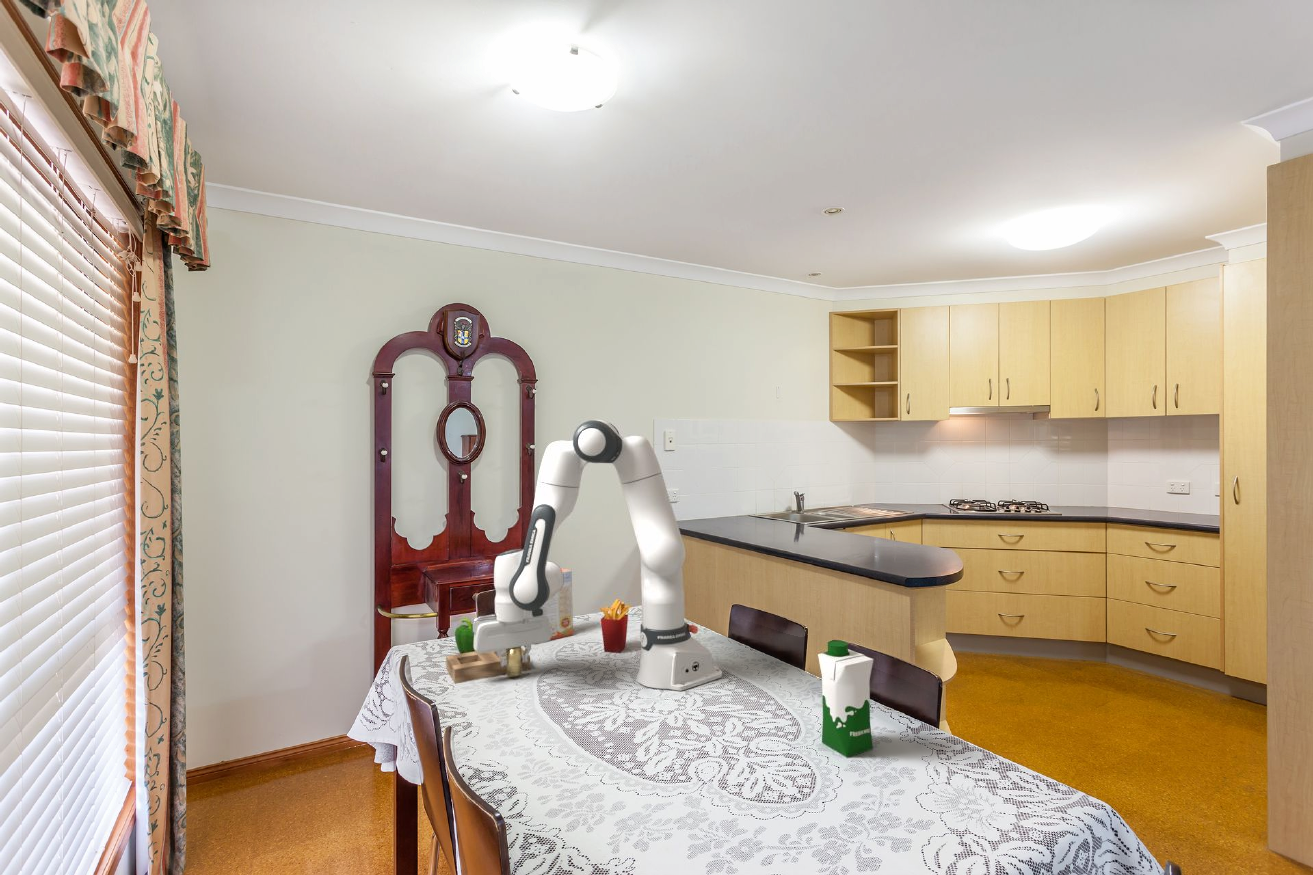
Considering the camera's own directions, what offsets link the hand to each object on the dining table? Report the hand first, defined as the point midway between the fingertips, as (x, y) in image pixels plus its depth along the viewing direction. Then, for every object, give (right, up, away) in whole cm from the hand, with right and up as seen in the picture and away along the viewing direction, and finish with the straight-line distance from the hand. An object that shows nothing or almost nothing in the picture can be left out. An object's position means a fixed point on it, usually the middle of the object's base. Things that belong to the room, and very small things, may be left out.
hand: (514, 663), depth 174 cm
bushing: (0, -3, 0) cm, 3 cm away
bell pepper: (-17, -4, +21) cm, 27 cm away
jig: (-8, -4, +6) cm, 11 cm away
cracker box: (+4, -4, +34) cm, 35 cm away
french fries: (+27, -3, +22) cm, 34 cm away
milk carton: (+76, -2, -42) cm, 87 cm away
